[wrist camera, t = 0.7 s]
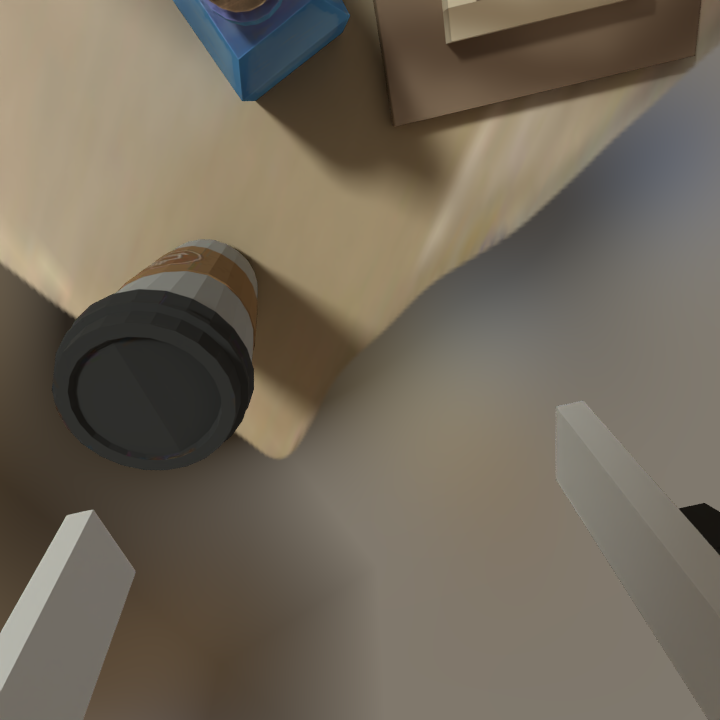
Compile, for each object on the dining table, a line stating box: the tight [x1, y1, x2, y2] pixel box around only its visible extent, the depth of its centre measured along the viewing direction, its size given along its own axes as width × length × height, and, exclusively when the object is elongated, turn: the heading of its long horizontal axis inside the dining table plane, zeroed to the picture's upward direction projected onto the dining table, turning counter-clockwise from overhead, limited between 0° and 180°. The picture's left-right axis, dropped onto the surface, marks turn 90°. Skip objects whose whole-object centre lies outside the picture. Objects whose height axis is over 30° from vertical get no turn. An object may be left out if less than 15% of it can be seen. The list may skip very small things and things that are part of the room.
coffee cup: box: [52, 239, 258, 470], centre depth 27 cm, size 8×8×15 cm
